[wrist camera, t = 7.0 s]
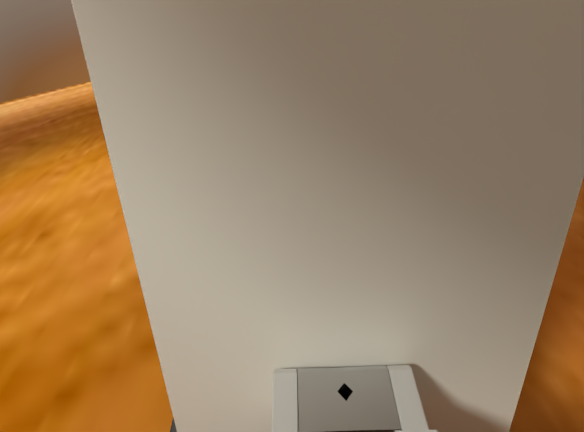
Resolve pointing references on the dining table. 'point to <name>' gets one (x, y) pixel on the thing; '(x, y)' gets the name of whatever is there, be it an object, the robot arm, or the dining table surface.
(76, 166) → the dining table surface
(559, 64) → the upright white panel
